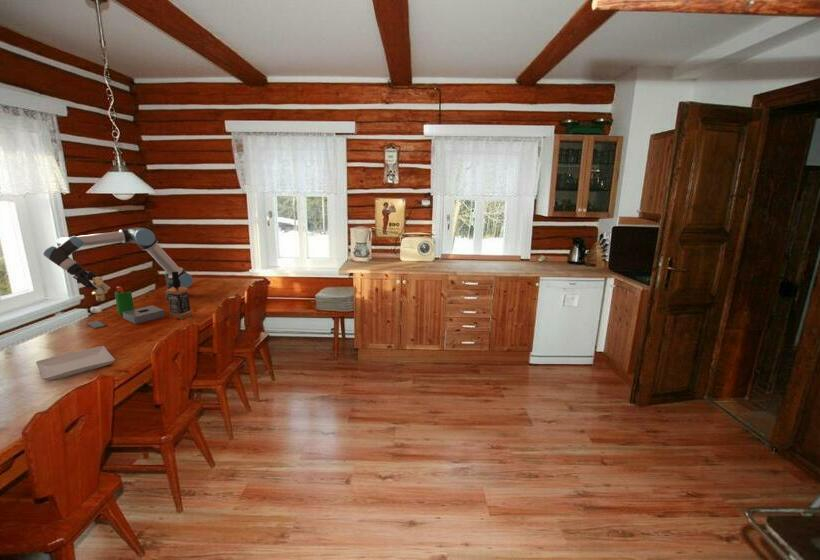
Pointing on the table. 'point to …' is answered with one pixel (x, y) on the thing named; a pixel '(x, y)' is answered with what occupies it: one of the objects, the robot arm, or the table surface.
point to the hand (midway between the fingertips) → (105, 290)
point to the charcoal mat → (96, 324)
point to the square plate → (74, 363)
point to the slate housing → (143, 314)
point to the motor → (123, 300)
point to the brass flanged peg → (99, 283)
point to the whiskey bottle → (178, 299)
